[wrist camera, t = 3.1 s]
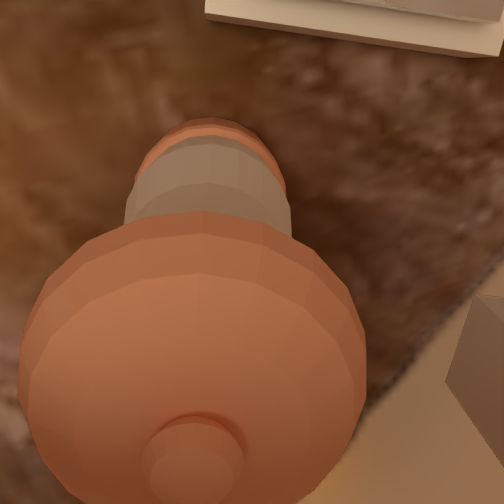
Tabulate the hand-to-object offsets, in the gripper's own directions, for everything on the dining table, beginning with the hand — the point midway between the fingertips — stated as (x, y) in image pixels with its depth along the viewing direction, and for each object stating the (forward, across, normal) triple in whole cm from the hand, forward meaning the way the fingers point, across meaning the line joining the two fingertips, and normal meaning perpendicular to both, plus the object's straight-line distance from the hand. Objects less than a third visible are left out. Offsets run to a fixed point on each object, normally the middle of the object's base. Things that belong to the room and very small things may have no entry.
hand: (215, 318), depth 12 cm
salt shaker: (+14, 0, 0) cm, 14 cm away
